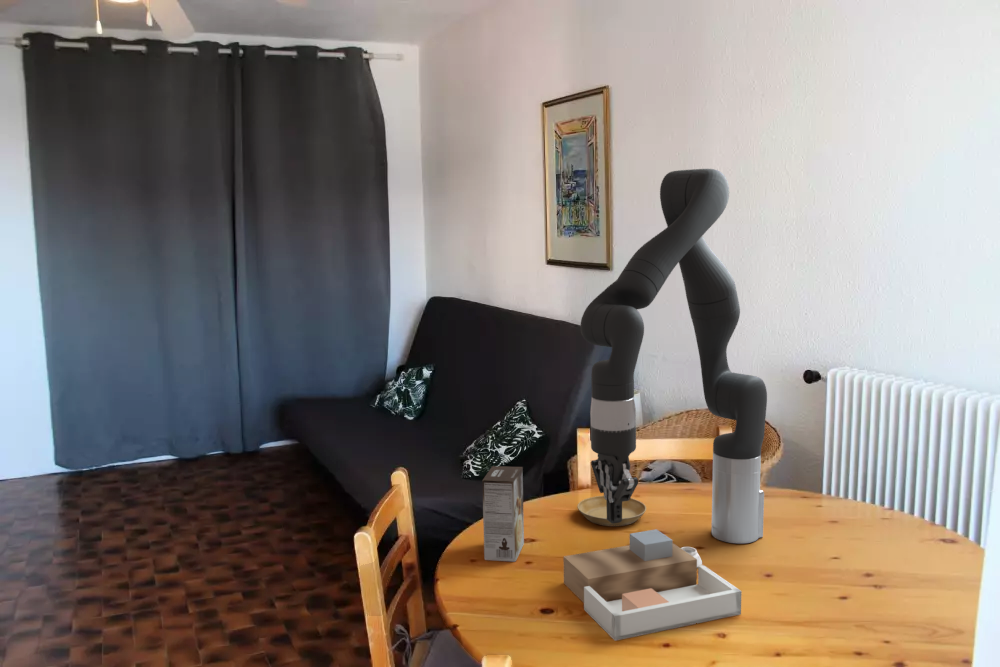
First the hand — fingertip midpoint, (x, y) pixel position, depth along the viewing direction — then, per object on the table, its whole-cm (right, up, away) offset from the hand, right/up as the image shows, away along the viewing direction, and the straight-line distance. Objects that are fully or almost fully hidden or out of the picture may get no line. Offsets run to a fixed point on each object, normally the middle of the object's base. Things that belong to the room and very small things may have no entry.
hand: (614, 521), depth 144 cm
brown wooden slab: (+3, -12, +5) cm, 14 cm away
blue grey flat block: (+7, -7, +7) cm, 12 cm away
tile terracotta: (+4, -11, -8) cm, 14 cm away
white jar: (+16, -11, +14) cm, 24 cm away
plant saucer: (+5, -8, +39) cm, 40 cm away
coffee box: (-19, -11, +21) cm, 30 cm away
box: (+7, -14, -5) cm, 16 cm away
